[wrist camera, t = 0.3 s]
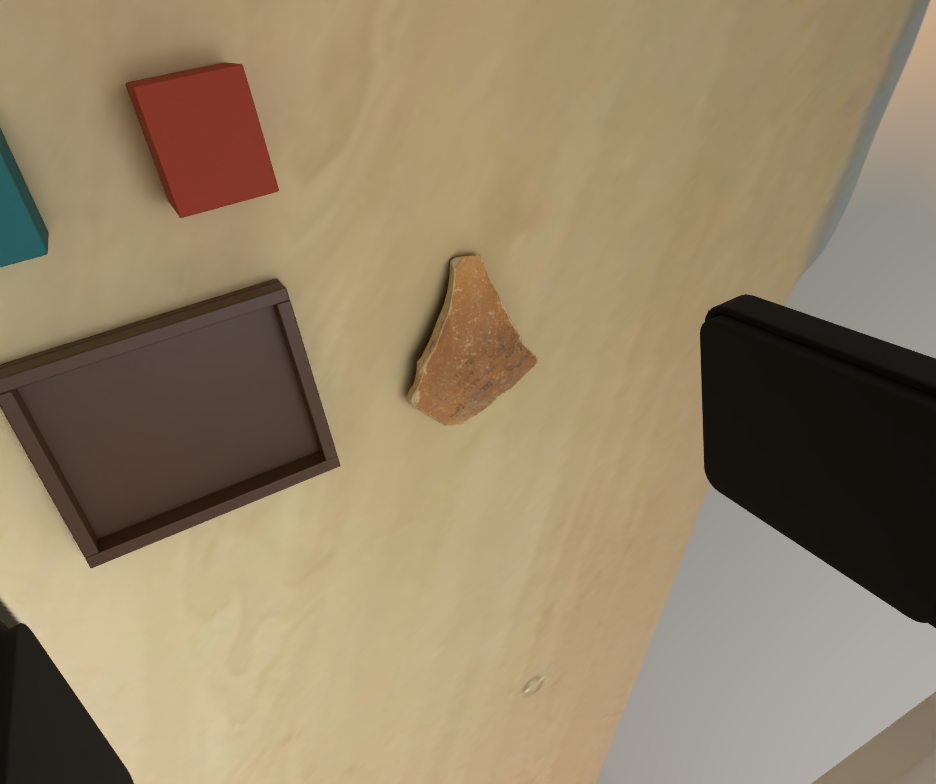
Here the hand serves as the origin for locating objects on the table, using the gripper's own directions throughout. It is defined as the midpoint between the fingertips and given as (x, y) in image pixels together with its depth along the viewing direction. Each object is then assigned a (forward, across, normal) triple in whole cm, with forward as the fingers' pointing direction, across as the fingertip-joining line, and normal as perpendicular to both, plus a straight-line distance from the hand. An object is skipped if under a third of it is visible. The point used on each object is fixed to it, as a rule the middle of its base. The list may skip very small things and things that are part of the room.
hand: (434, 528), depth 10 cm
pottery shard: (+36, -14, +16) cm, 42 cm away
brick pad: (+35, -3, -2) cm, 35 cm away
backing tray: (+35, +4, +13) cm, 38 cm away
